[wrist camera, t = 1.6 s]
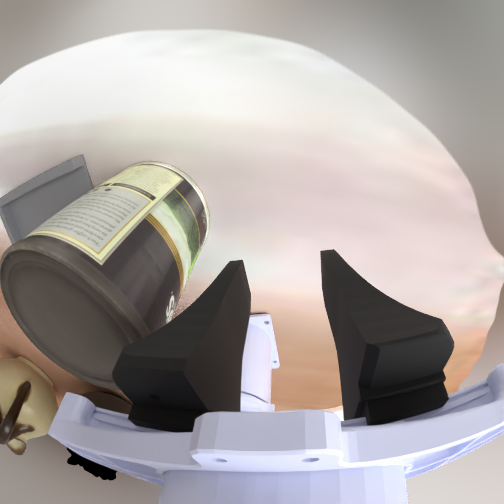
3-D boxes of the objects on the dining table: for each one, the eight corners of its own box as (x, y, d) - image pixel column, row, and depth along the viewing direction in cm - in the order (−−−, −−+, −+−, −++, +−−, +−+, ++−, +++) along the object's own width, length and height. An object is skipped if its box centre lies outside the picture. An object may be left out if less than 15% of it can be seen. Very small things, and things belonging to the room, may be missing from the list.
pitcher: (26, 378, 53) (-3, 439, 32) (-9, 326, 41) (-53, 395, 19) (81, 406, 53) (54, 478, 32) (46, 356, 41) (0, 447, 20)
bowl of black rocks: (161, 394, 40) (134, 490, 24) (166, 429, 50) (149, 498, 34) (65, 358, 39) (26, 436, 23) (90, 402, 49) (65, 463, 33)
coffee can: (235, 214, 22) (194, 356, 10) (168, 282, 27) (114, 403, 15) (142, 134, 19) (4, 199, 7) (91, 218, 24) (-3, 312, 11)
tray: (134, 287, 27) (127, 298, 26) (49, 292, 30) (42, 300, 28) (82, 154, 20) (71, 159, 18) (4, 195, 22) (-5, 201, 21)
